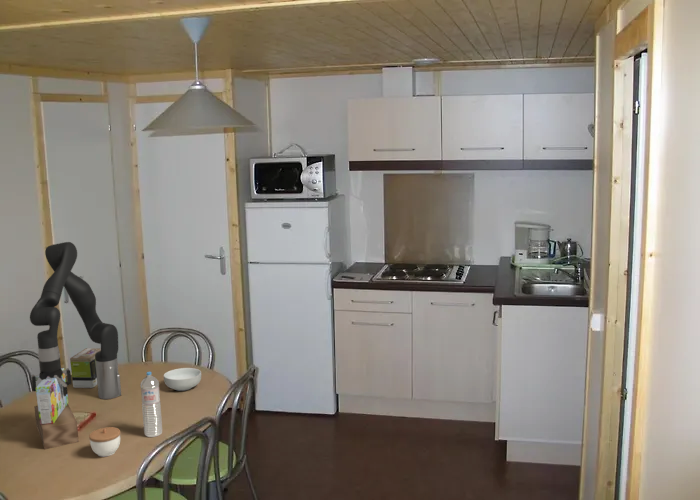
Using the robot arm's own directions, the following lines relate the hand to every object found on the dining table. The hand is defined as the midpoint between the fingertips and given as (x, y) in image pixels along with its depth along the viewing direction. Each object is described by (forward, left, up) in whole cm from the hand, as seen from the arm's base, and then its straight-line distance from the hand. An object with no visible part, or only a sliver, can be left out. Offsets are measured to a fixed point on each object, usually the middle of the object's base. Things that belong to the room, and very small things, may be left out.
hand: (53, 397), depth 269 cm
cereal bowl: (-57, -21, -15) cm, 62 cm away
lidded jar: (-13, +29, -15) cm, 35 cm away
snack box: (0, 0, -7) cm, 7 cm away
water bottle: (-32, +22, -15) cm, 42 cm away
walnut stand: (0, 0, -15) cm, 15 cm away
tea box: (-22, -53, -15) cm, 59 cm away
